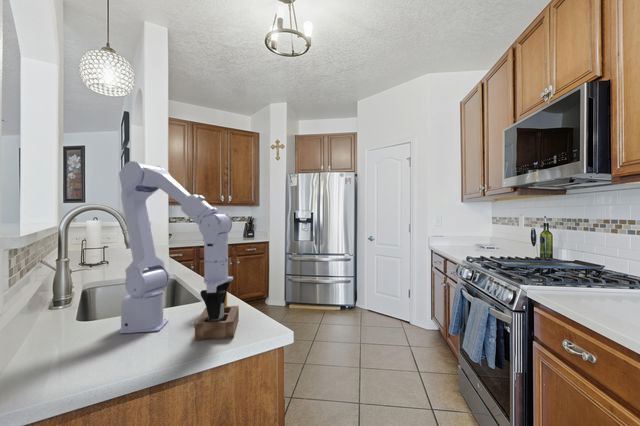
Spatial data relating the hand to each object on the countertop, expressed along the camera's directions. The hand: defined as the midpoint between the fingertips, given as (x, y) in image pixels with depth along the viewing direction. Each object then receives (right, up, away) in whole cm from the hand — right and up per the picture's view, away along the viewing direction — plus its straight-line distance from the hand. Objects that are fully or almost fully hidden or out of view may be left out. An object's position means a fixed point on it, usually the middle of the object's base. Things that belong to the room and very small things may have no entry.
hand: (216, 314), depth 78 cm
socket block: (-1, -5, +3) cm, 6 cm away
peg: (0, -5, 0) cm, 5 cm away
